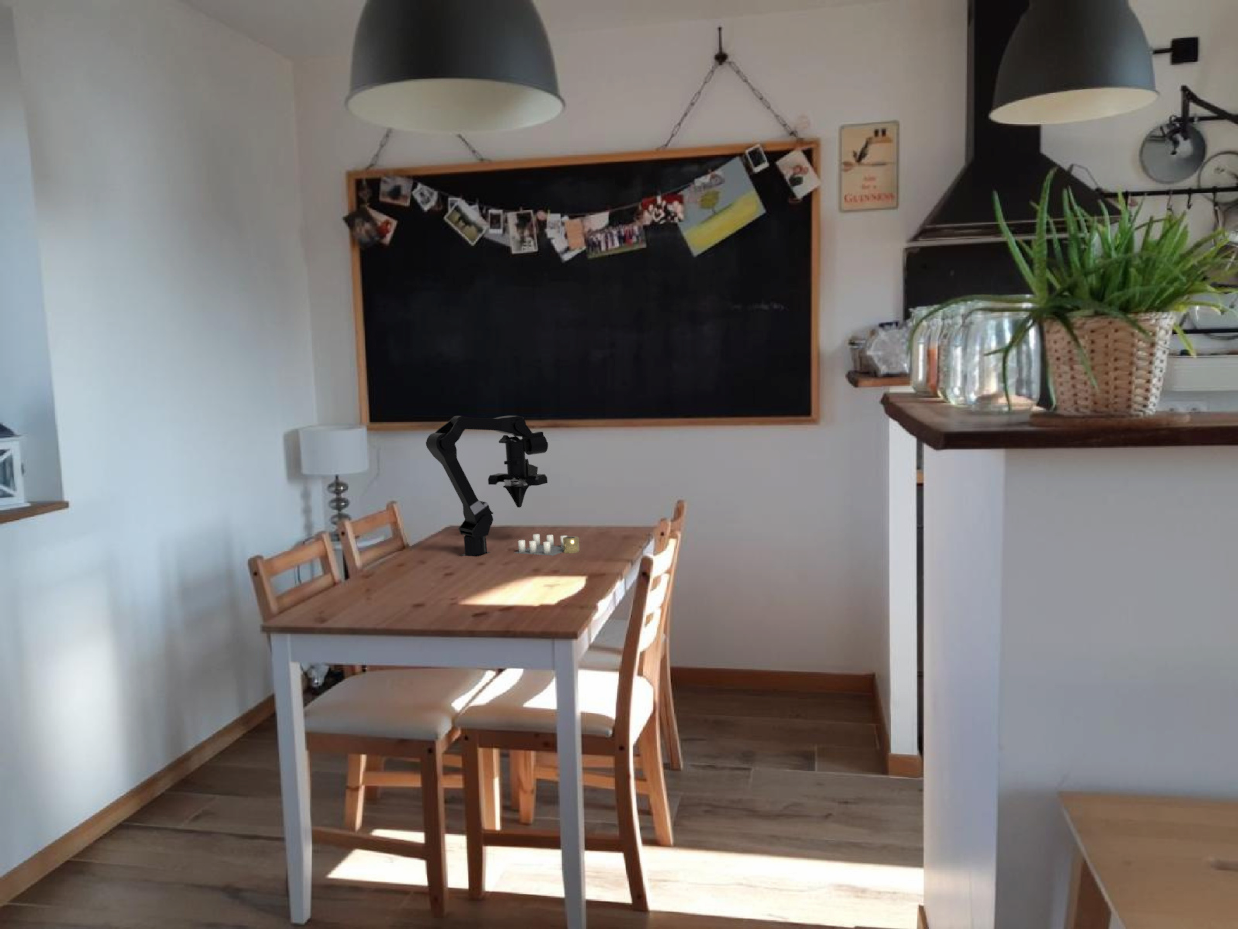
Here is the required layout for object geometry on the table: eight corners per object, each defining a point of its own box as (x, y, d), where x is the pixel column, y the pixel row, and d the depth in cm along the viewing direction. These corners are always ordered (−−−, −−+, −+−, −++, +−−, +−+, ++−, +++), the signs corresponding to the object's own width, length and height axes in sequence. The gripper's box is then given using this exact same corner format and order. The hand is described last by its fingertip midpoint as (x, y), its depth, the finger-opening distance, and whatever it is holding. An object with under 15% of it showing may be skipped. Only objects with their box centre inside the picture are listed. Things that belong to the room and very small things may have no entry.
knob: (575, 554, 274) (574, 538, 274) (560, 554, 276) (560, 538, 275) (581, 551, 278) (581, 536, 278) (567, 551, 280) (567, 535, 280)
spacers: (548, 554, 274) (547, 542, 274) (514, 552, 280) (514, 540, 280) (569, 547, 284) (568, 535, 283) (536, 545, 290) (535, 533, 290)
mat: (553, 556, 273) (553, 555, 273) (513, 554, 280) (513, 552, 280) (575, 548, 283) (575, 547, 283) (537, 545, 290) (537, 544, 290)
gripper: (555, 453, 291) (559, 503, 293) (506, 453, 300) (510, 502, 302) (535, 458, 282) (538, 510, 283) (485, 457, 291) (488, 508, 293)
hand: (519, 507), depth 291 cm, fingers closed
